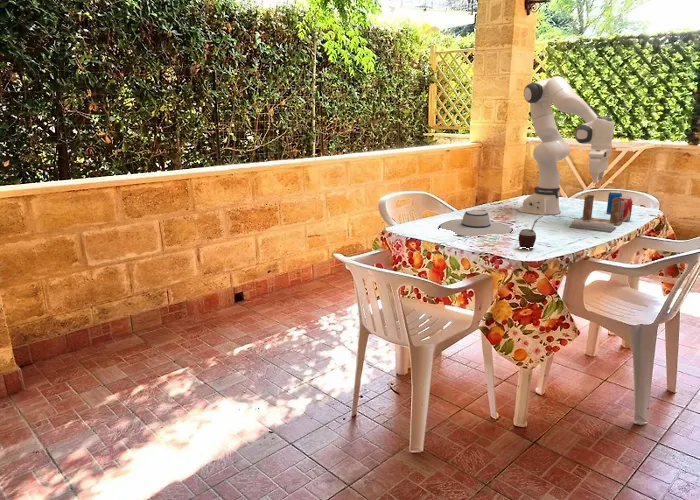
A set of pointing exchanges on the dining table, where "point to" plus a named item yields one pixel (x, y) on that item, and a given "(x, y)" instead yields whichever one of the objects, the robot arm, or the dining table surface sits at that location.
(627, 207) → the soda can
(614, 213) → the rack
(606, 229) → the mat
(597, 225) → the rail
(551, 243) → the dining table surface
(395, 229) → the dining table surface
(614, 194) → the beverage can
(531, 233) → the mate gourd
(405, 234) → the dining table surface
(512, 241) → the dining table surface
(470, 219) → the sun hat
